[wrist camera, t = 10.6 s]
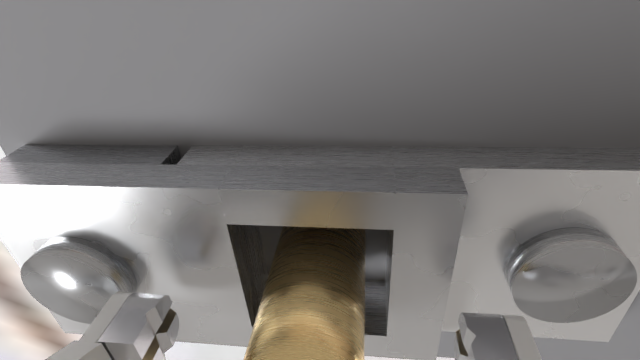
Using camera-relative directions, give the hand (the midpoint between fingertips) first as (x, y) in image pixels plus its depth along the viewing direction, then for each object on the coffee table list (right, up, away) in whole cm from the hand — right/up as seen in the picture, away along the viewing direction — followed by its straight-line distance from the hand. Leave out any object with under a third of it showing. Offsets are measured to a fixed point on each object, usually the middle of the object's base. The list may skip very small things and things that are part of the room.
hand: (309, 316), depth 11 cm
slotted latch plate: (0, +2, +3) cm, 4 cm away
